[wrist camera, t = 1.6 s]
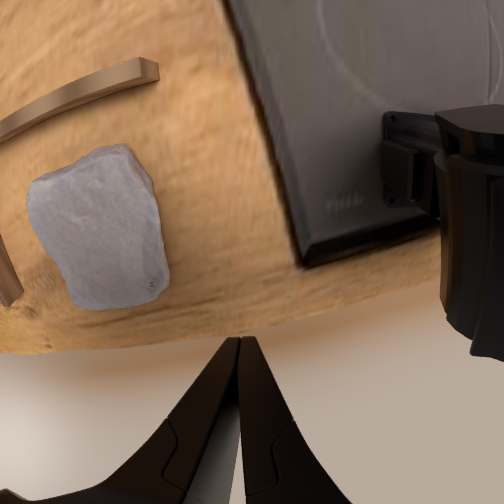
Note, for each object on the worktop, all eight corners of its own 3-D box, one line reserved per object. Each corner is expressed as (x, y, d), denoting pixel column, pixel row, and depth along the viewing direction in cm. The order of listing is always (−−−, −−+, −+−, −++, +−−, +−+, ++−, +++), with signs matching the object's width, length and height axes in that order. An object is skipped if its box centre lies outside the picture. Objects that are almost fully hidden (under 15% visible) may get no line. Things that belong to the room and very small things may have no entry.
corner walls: (157, 63, 15) (139, 56, 12) (198, 287, 22) (190, 311, 20) (-28, 149, 16) (-49, 157, 14) (18, 290, 24) (3, 306, 21)
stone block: (144, 128, 18) (38, 177, 18) (128, 133, 14) (7, 195, 14) (192, 265, 24) (94, 294, 24) (192, 299, 20) (80, 329, 20)
